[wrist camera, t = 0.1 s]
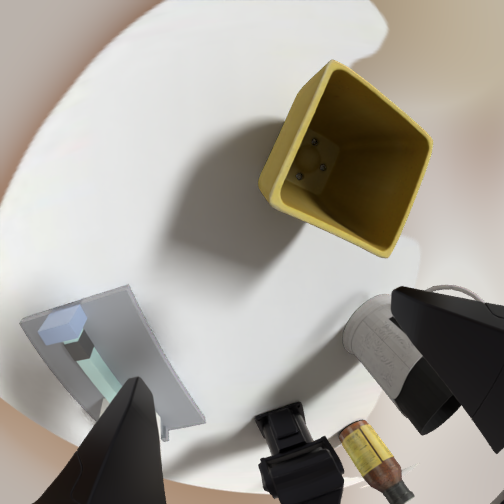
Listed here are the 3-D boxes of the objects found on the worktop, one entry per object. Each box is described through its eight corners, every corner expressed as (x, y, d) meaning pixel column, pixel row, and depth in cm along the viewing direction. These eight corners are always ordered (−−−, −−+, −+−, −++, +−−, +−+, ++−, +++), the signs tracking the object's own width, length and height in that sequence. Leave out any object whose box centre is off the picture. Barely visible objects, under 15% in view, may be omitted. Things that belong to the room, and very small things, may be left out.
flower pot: (234, 185, 21) (265, 205, 12) (278, 89, 19) (333, 55, 10) (324, 224, 24) (388, 261, 15) (361, 139, 22) (436, 141, 13)
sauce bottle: (335, 441, 40) (379, 518, 22) (339, 427, 37) (389, 512, 19) (365, 428, 41) (411, 499, 23) (371, 412, 39) (425, 490, 20)
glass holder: (333, 358, 30) (399, 451, 16) (369, 246, 25) (487, 321, 12) (385, 349, 32) (451, 420, 18) (421, 251, 28) (518, 308, 14)
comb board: (205, 417, 29) (208, 442, 25) (113, 431, 27) (110, 453, 24) (128, 284, 21) (119, 308, 18) (23, 318, 20) (7, 340, 16)
